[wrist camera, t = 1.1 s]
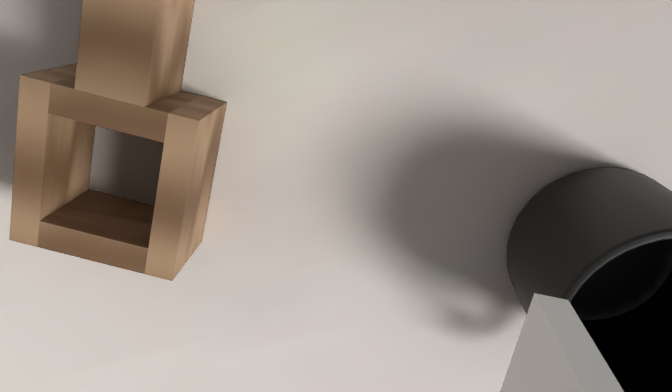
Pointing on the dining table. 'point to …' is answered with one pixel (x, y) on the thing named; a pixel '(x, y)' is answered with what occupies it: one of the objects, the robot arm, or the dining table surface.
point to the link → (125, 116)
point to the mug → (604, 266)
